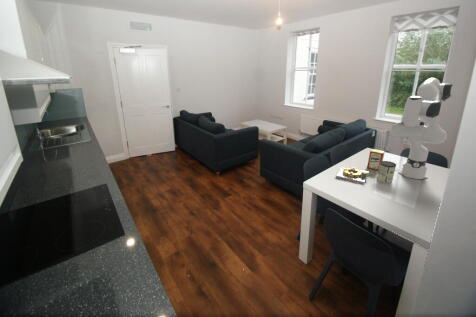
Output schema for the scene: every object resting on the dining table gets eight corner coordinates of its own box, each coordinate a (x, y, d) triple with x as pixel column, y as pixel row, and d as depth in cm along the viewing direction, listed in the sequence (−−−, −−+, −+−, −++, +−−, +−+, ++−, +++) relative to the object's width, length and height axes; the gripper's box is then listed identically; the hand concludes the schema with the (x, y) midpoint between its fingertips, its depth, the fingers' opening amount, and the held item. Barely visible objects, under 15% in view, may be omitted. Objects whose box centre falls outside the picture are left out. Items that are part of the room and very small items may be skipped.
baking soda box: (381, 168, 198) (384, 150, 192) (379, 171, 193) (383, 153, 187) (368, 165, 203) (372, 148, 198) (366, 168, 199) (370, 150, 193)
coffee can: (380, 176, 184) (384, 159, 179) (394, 180, 176) (398, 163, 171) (373, 179, 179) (377, 162, 174) (388, 184, 171) (392, 167, 166)
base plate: (341, 169, 198) (342, 162, 196) (367, 174, 188) (368, 167, 185) (335, 177, 183) (336, 171, 181) (363, 184, 172) (365, 176, 170)
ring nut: (345, 168, 193) (346, 164, 191) (368, 173, 183) (369, 169, 182) (341, 174, 183) (342, 170, 181) (366, 179, 174) (367, 175, 172)
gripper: (396, 123, 145) (392, 144, 150) (428, 122, 146) (422, 143, 151) (390, 121, 151) (385, 141, 156) (420, 120, 152) (415, 140, 157)
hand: (404, 142), depth 153 cm, fingers closed
